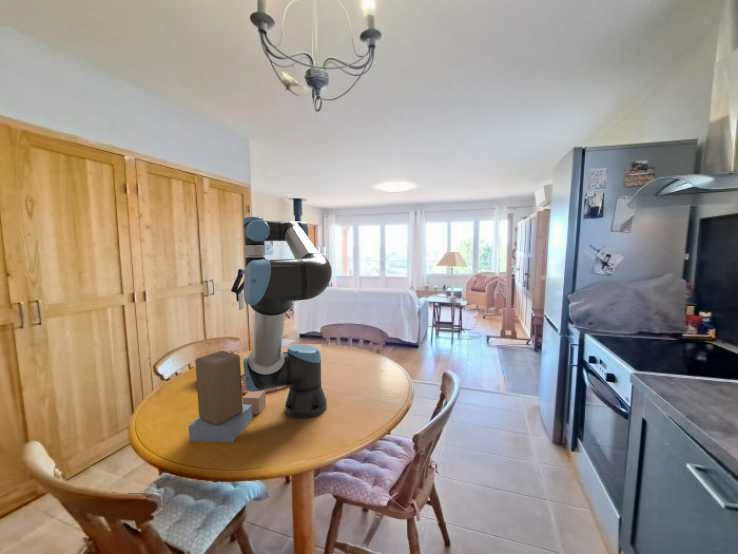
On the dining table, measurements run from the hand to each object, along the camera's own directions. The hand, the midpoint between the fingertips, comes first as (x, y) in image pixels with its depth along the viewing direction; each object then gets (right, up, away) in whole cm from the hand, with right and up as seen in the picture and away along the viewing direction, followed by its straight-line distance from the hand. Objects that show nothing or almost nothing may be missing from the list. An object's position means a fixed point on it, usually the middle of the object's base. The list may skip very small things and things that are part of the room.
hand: (257, 309), depth 130 cm
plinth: (-4, -37, -23) cm, 44 cm away
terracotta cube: (+3, -36, -11) cm, 38 cm away
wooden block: (-4, -33, -24) cm, 41 cm away
